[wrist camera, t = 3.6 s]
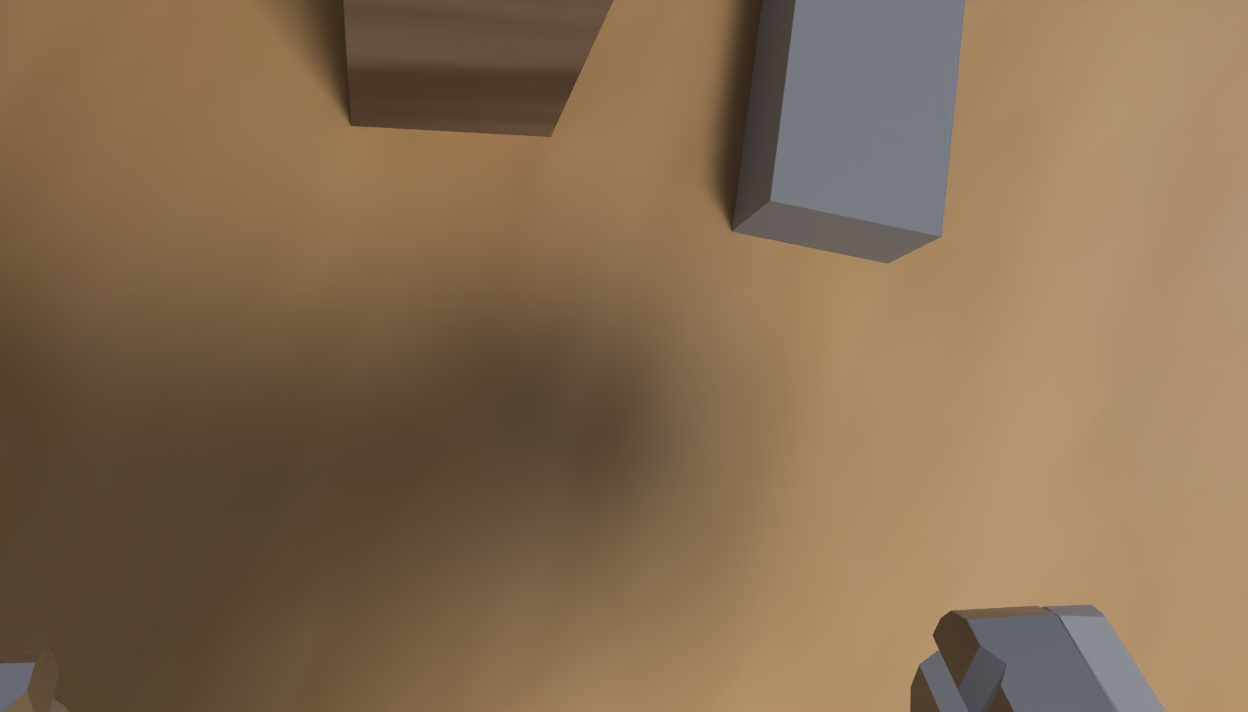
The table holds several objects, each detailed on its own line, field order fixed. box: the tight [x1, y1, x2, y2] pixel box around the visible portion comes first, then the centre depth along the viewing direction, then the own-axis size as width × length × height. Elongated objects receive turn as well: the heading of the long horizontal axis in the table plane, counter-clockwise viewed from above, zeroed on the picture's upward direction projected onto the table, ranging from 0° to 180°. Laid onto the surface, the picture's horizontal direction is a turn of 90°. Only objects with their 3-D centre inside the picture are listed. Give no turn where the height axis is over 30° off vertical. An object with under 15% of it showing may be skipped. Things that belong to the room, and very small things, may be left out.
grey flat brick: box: [732, 0, 965, 263], centre depth 27 cm, size 8×4×3 cm, turn 172°
